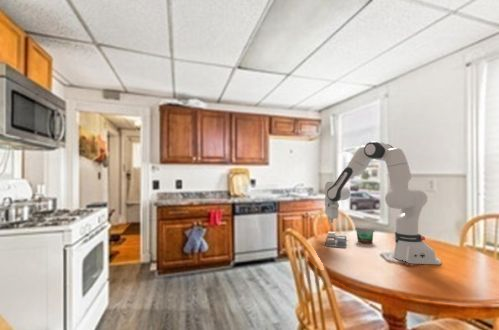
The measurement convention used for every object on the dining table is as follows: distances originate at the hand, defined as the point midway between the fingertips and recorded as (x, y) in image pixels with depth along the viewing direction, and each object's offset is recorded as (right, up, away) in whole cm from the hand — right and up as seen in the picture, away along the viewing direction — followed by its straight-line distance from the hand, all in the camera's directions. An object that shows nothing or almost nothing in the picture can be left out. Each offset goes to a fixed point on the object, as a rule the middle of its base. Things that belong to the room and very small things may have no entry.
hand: (331, 222), depth 195 cm
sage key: (+7, -11, -3) cm, 13 cm away
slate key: (+2, -9, -16) cm, 19 cm away
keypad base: (+1, -12, -8) cm, 15 cm away
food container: (+20, -12, -11) cm, 26 cm away
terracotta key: (-5, -11, -14) cm, 18 cm away
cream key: (0, -10, 0) cm, 10 cm away
